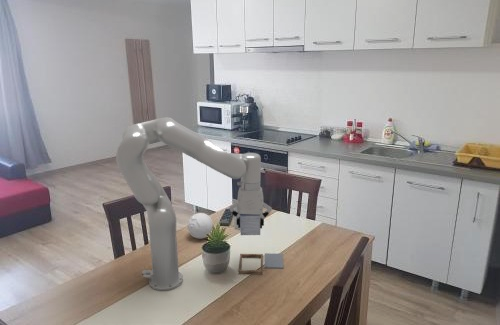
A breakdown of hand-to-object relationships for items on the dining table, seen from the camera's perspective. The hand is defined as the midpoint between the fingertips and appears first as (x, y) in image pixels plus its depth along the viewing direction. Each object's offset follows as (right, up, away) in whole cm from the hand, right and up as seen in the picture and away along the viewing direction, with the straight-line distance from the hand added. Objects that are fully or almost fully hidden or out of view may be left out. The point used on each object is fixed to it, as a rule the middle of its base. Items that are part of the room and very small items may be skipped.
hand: (250, 226), depth 147 cm
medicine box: (0, -3, +1) cm, 3 cm away
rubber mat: (+10, -16, +8) cm, 20 cm away
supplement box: (-3, -7, +40) cm, 41 cm away
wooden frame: (0, -17, +5) cm, 17 cm away
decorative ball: (-23, -10, +29) cm, 39 cm away
